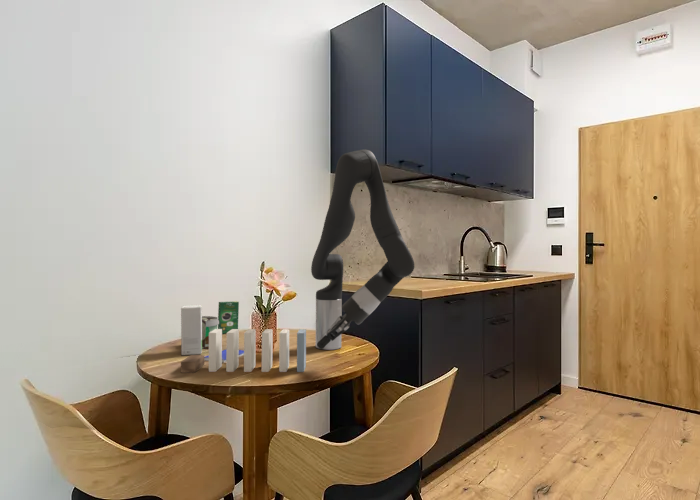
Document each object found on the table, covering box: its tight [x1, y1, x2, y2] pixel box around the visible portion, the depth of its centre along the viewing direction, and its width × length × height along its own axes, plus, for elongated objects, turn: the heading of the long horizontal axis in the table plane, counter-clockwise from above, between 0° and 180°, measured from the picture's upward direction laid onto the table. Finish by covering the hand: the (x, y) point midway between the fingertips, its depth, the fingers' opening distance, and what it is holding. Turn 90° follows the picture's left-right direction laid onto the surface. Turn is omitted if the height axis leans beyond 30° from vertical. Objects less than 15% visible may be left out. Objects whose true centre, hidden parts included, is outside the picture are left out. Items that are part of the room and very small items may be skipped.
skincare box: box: [180, 304, 203, 356], centre depth 146 cm, size 8×7×16 cm
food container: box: [202, 315, 219, 350], centre depth 157 cm, size 12×6×10 cm, turn 34°
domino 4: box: [261, 328, 274, 373], centre depth 126 cm, size 2×6×11 cm, turn 0°
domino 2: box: [225, 328, 240, 373], centre depth 126 cm, size 2×6×11 cm, turn 1°
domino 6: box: [296, 328, 307, 373], centre depth 126 cm, size 2×6×11 cm, turn 0°
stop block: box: [180, 354, 205, 373], centre depth 126 cm, size 4×8×3 cm, turn 0°
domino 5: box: [278, 328, 290, 373], centre depth 126 cm, size 2×6×11 cm, turn 0°
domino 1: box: [208, 328, 223, 373], centre depth 126 cm, size 2×6×11 cm, turn 1°
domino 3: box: [243, 328, 257, 373], centre depth 126 cm, size 2×6×11 cm, turn 1°
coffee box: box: [217, 300, 240, 335], centre depth 180 cm, size 8×3×13 cm, turn 124°
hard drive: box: [204, 349, 244, 363], centre depth 140 cm, size 2×8×12 cm
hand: (319, 346), depth 126 cm, fingers closed
